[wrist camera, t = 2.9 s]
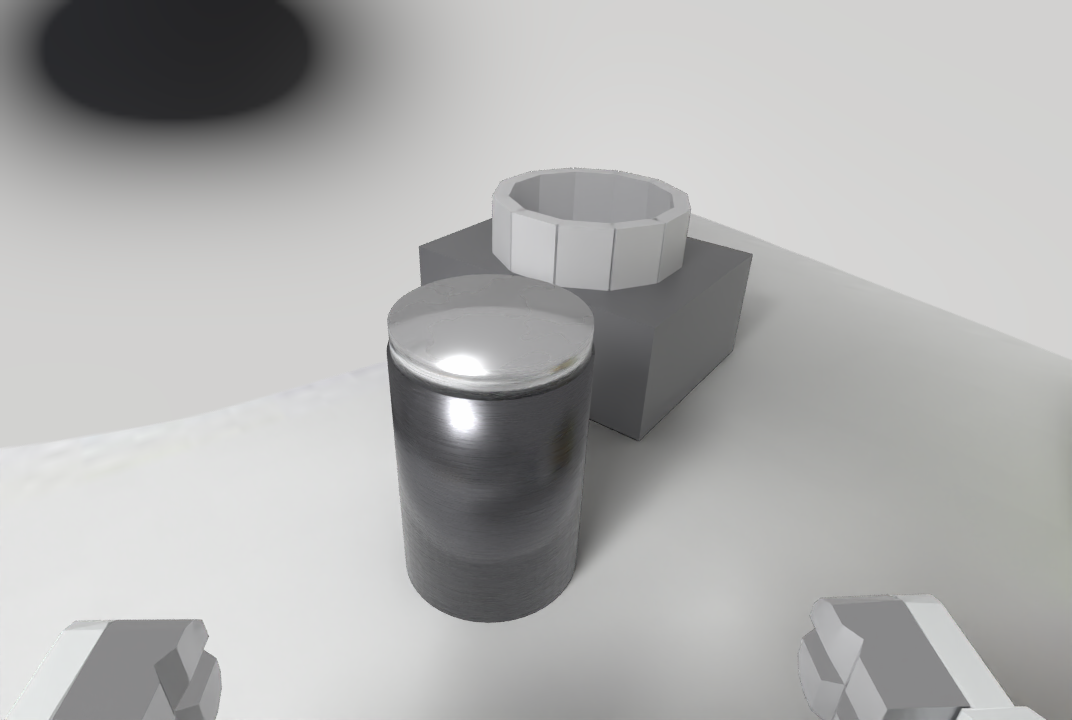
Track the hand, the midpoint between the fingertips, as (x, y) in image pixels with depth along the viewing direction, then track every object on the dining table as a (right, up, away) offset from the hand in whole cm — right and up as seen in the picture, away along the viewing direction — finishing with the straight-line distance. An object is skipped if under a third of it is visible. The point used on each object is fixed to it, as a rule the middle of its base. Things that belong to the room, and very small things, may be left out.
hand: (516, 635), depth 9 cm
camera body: (+3, +4, +30) cm, 30 cm away
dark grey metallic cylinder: (-1, -4, +17) cm, 17 cm away
